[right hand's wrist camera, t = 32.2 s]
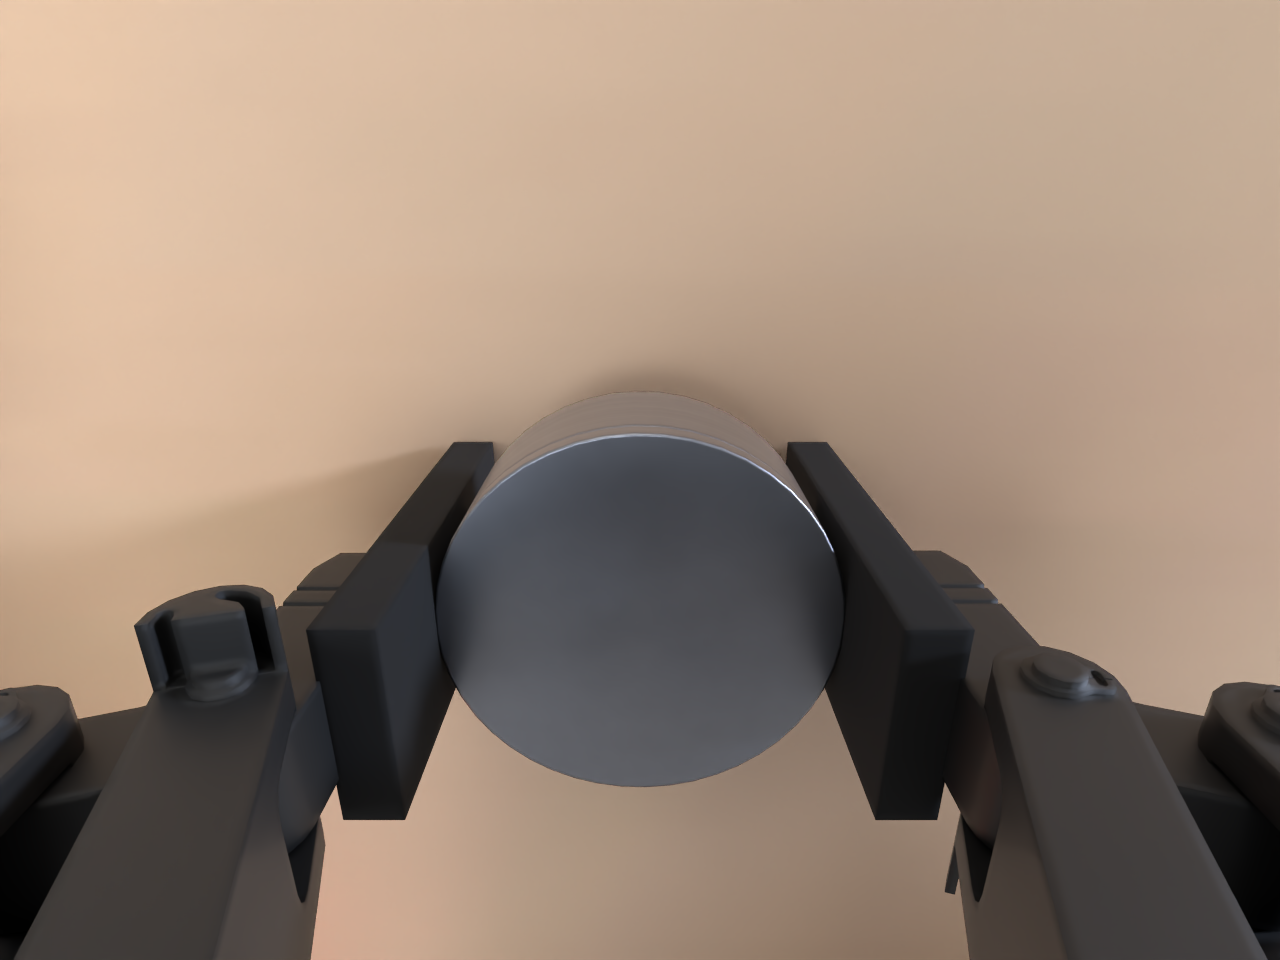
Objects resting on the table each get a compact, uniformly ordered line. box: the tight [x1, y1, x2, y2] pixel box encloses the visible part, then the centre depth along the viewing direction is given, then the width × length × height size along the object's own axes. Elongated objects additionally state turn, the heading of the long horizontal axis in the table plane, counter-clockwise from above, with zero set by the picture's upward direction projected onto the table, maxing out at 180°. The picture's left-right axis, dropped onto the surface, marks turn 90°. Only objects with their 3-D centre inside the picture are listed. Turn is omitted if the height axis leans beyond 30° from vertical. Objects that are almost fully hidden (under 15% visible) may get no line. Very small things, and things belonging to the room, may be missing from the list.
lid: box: [435, 391, 845, 787], centre depth 11 cm, size 6×6×2 cm
